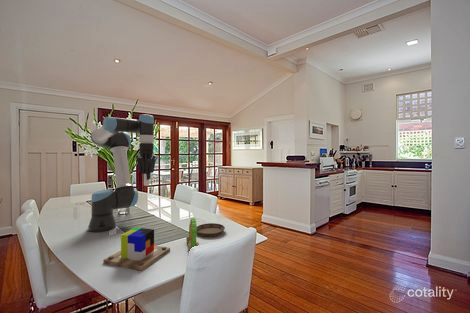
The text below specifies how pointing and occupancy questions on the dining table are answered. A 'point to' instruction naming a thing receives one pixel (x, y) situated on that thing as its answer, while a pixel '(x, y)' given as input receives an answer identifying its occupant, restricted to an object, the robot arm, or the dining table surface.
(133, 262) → the base plate
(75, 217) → the dining table surface
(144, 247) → the puzzle toy
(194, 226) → the green upright piece
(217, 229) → the plant saucer
